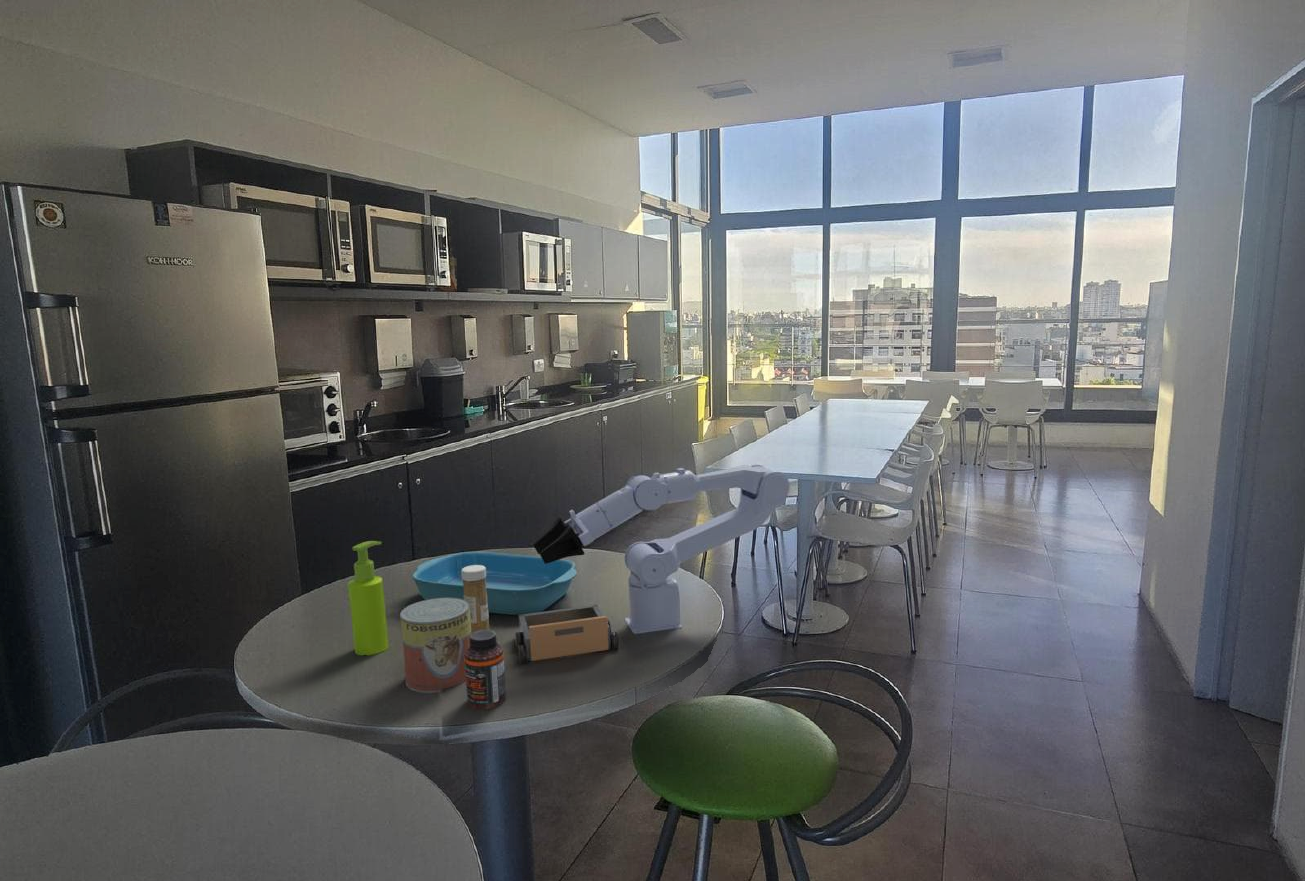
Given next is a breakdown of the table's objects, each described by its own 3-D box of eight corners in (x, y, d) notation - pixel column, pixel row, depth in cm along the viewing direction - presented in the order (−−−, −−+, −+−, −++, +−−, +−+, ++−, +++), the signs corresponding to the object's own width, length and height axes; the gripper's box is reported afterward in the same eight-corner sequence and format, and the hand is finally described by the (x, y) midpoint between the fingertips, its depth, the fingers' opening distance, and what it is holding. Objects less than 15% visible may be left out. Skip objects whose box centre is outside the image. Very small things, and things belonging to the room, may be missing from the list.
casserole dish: (595, 588, 170) (593, 557, 169) (550, 626, 149) (548, 591, 148) (453, 576, 182) (451, 547, 181) (394, 610, 161) (391, 577, 160)
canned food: (412, 699, 121) (406, 627, 119) (400, 672, 130) (394, 605, 129) (482, 682, 126) (477, 613, 124) (465, 657, 136) (461, 593, 134)
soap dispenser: (399, 642, 143) (390, 540, 140) (371, 657, 137) (361, 550, 134) (375, 638, 145) (366, 537, 143) (347, 652, 139) (337, 547, 136)
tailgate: (607, 647, 135) (606, 615, 134) (608, 649, 134) (607, 617, 133) (531, 659, 132) (528, 626, 131) (531, 661, 131) (529, 628, 130)
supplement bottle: (459, 709, 117) (454, 639, 115) (482, 691, 122) (477, 624, 121) (492, 715, 115) (487, 644, 113) (513, 697, 120) (509, 629, 118)
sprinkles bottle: (494, 636, 144) (489, 568, 143) (471, 642, 142) (465, 573, 140) (485, 628, 148) (480, 562, 146) (462, 634, 146) (457, 567, 144)
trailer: (603, 625, 148) (602, 603, 147) (618, 652, 135) (617, 628, 134) (513, 638, 143) (512, 615, 142) (521, 667, 130) (519, 642, 130)
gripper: (585, 492, 147) (523, 527, 144) (602, 504, 133) (534, 543, 130) (601, 523, 149) (540, 559, 145) (620, 538, 135) (553, 578, 132)
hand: (538, 554), depth 138 cm, fingers open, 7 cm apart
